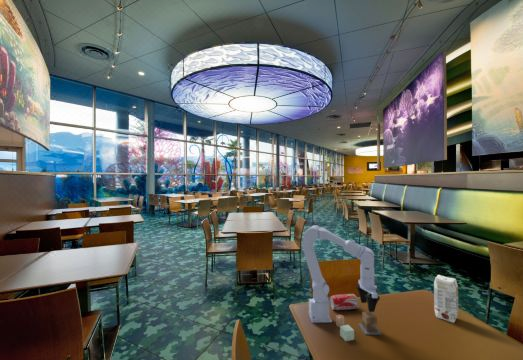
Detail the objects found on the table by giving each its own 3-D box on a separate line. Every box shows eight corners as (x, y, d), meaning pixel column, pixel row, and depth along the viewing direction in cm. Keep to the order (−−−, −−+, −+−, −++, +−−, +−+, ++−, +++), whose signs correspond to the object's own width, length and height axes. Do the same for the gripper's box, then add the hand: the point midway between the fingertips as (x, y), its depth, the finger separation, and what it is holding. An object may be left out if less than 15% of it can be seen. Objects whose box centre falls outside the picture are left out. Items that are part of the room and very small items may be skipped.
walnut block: (366, 331, 103) (366, 317, 103) (362, 325, 107) (362, 311, 107) (377, 331, 103) (376, 317, 103) (372, 325, 107) (372, 311, 107)
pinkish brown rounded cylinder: (337, 327, 107) (337, 318, 107) (334, 323, 110) (334, 314, 110) (345, 327, 107) (345, 318, 107) (342, 323, 110) (342, 314, 110)
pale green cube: (345, 341, 97) (345, 331, 98) (340, 335, 101) (340, 326, 101) (354, 339, 99) (354, 330, 99) (348, 333, 102) (348, 324, 102)
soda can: (351, 296, 129) (328, 297, 128) (355, 291, 123) (331, 293, 123) (356, 310, 124) (331, 312, 123) (360, 306, 119) (334, 308, 118)
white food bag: (456, 324, 108) (455, 283, 109) (433, 316, 115) (432, 277, 115) (459, 318, 113) (458, 278, 114) (437, 311, 120) (436, 273, 120)
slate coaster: (365, 334, 102) (365, 333, 102) (358, 325, 109) (358, 323, 109) (381, 334, 102) (381, 333, 102) (373, 324, 109) (373, 323, 109)
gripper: (384, 282, 99) (385, 315, 98) (368, 270, 113) (368, 298, 113) (367, 283, 99) (368, 315, 98) (353, 270, 113) (354, 298, 113)
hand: (367, 306), depth 106 cm, fingers open, 7 cm apart
